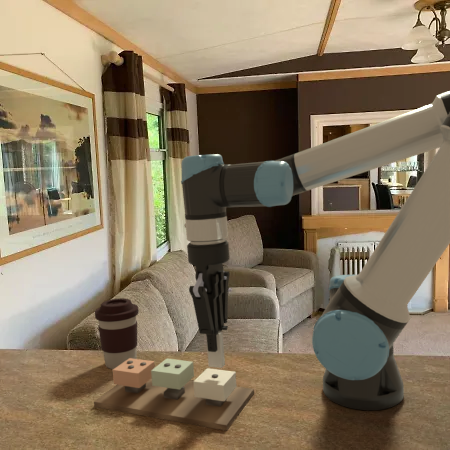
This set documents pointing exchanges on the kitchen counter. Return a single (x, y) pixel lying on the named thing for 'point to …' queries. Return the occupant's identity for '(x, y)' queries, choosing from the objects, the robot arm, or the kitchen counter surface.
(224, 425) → the key board
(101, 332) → the coffee cup
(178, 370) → the tile two
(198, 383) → the tile one
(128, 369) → the tile three
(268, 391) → the kitchen counter surface
